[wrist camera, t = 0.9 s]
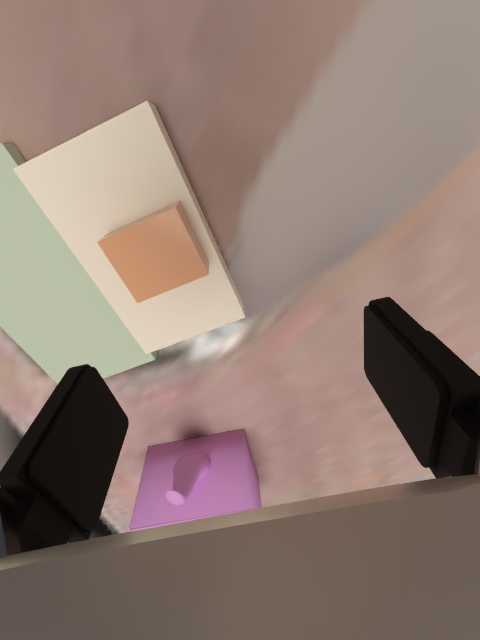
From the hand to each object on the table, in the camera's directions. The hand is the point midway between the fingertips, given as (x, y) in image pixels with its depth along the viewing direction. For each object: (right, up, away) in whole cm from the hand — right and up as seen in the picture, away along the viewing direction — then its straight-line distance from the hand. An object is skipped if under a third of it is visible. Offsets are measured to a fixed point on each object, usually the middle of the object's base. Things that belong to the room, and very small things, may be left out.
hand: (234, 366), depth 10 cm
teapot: (-6, -21, +38) cm, 44 cm away
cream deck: (-9, +9, +20) cm, 23 cm away
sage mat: (-20, +5, +21) cm, 30 cm away
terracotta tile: (-7, +8, +17) cm, 20 cm away
